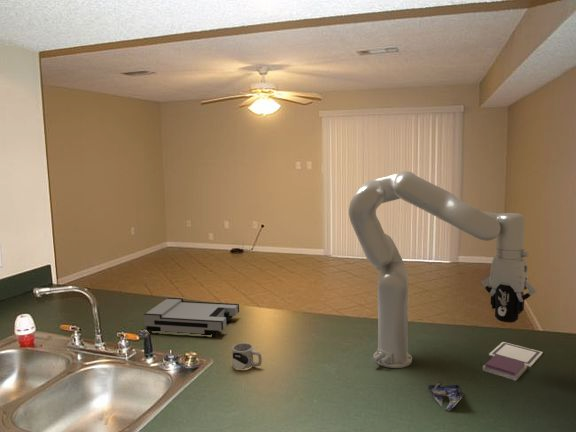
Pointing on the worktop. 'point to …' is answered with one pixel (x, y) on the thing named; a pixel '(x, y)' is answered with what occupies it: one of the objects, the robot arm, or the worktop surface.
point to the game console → (189, 316)
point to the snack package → (446, 394)
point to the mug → (244, 356)
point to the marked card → (517, 353)
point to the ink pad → (505, 367)
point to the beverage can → (506, 303)
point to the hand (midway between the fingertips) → (506, 309)
